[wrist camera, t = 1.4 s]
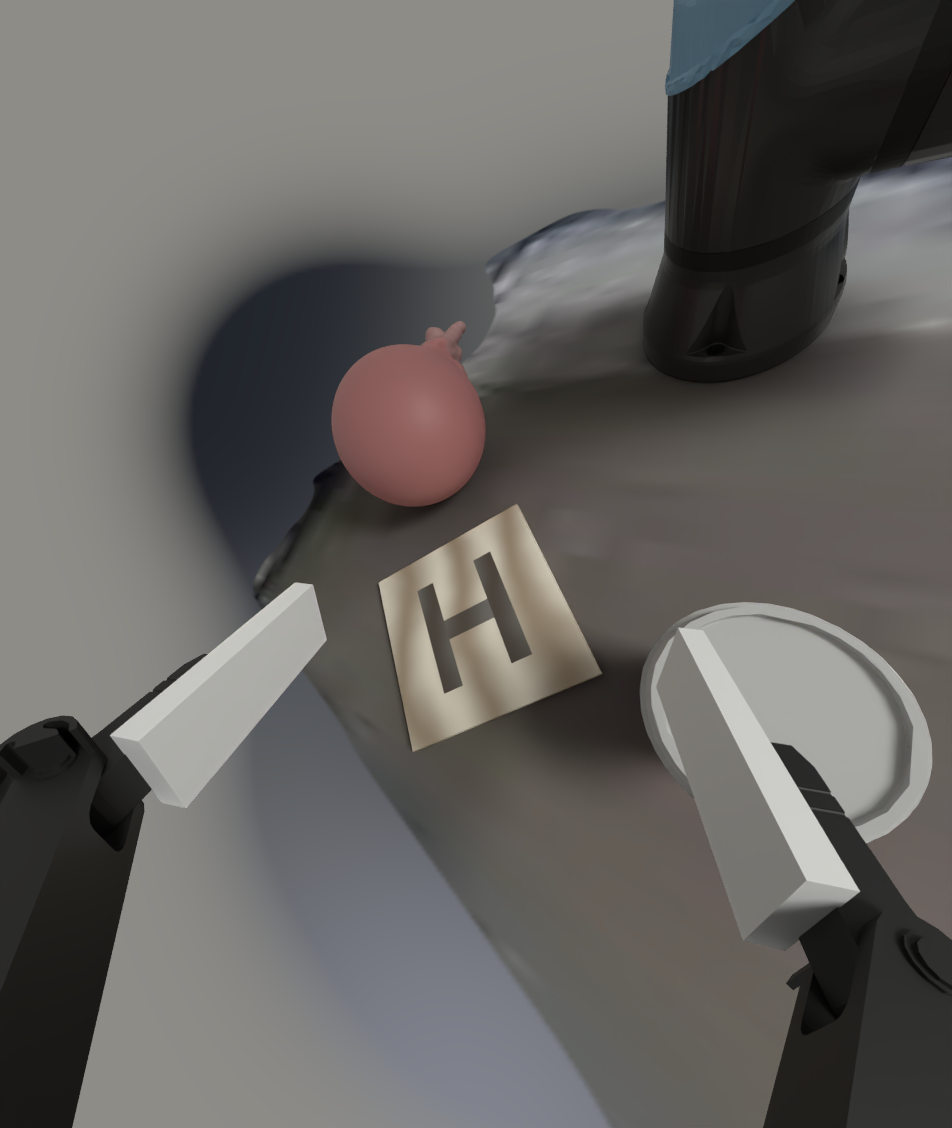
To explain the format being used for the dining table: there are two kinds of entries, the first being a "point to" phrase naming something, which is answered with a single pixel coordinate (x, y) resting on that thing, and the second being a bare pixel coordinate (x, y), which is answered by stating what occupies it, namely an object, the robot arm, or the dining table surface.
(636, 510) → the dining table surface
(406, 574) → the board
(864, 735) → the disposable coffee cup
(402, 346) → the balloon
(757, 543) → the dining table surface
